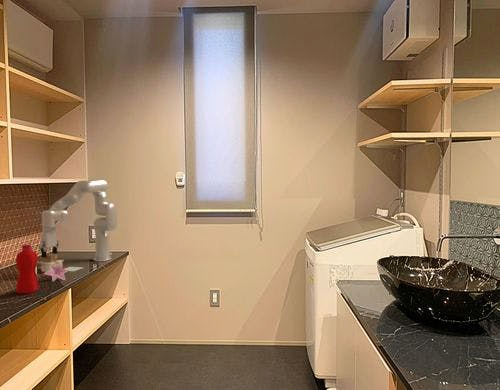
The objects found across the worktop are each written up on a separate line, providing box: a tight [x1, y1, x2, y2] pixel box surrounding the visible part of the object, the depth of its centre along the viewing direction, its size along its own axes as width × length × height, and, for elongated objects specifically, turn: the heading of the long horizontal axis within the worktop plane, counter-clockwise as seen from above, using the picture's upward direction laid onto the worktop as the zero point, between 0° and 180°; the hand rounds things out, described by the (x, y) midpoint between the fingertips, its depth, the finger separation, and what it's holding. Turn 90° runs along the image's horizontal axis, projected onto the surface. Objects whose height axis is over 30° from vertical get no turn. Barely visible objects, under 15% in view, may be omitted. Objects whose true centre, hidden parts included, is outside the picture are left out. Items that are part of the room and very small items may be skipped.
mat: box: [64, 266, 83, 272], centre depth 261 cm, size 11×11×1 cm
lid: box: [37, 252, 65, 265], centre depth 257 cm, size 12×12×5 cm
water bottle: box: [15, 244, 39, 295], centre depth 211 cm, size 9×11×25 cm
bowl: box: [40, 263, 58, 273], centre depth 257 cm, size 9×9×6 cm
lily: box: [43, 262, 69, 282], centre depth 237 cm, size 12×12×10 cm
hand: (49, 256), depth 257 cm, fingers open, 9 cm apart
